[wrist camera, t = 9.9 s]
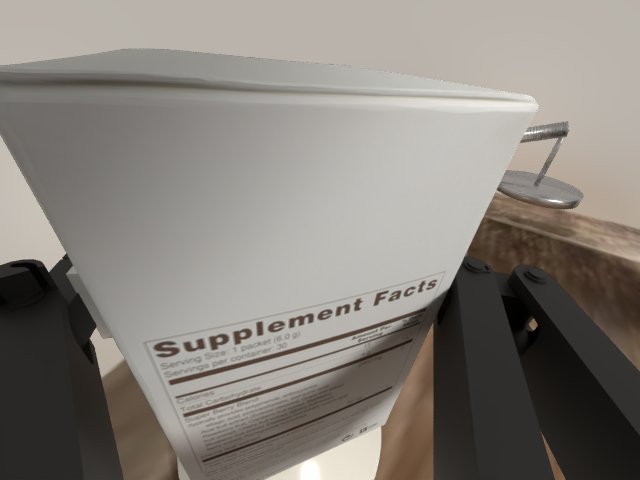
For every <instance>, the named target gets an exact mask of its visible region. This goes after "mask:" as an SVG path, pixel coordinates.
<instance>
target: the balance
mask: <svg viewBox="0 0 640 480" xmlns="http://www.w3.org/2000/svg"><path fill="white" fill-rule="evenodd" d="M568 131H569V130H568V122H561V123H554V124H549V125H542V126H535V127H530V128H527V130H526V132H525V134H524V135H523V137H522V139H521V141H520V143H523V142H531V141H538V140H546V139H552V138H558V140H557V142H556V144H555V146H554V147H553V149H552V151H551V153H550V155H549V157H548V159H547V160H546V162H545V165H544V166H543V168H542V170H541V172H540V174H534V173H529V172H522V171H509V170H506V171H505V173H504V175H503V177H502V180H501V182H500V184H499V186H498V188H497V190H498V191H500V192H501V193H503V194H505V195H507V196H509V197H511V198H514V199H517V200H519V201H522V202H525V203H529V204H533V205H537V206H541V207H546V208H553V209H573V208H575V207H577V206H578V205H579V203H580V202H581V200H582V199H583V197H584V195H583V193H582V192H581V191H580V190H578V189H577V188H575V187H573V186H571V185H569V184H567V183H565V182H562V181H559V180H556V179H553V178H550V177H546V176H544V175H545V173H546V171H547V170H548V168H549V166H550V164H551V162H552V160H553V159H554V157H555V155H556V153H557V151H558V149H559V147H560V146H561V144H562V142H563V140H564V138H565V137H566V136H567V133H568ZM467 253H468V251H467V252H466V254H465V256H466V257H467Z"/></svg>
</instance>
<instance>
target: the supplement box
mask: <svg viewBox="0 0 640 480" xmlns="http://www.w3.org/2000/svg"><path fill="white" fill-rule="evenodd" d="M538 108H539V106H538V104H537V103H536V101H535V100H534V98H533V97H531V96H529V95H524V94H519V93H513V92H507V91H501V90H495V89H489V88H483V87H477V86H471V85H465V84H459V83H452V82H447V81H441V80H435V79H428V78H422V77H416V76H410V75H404V74H398V73H392V72H385V71H379V70H372V69H365V68H359V67H353V66H347V65H334V64H319V63H308V62H296V61H285V60H274V59H264V58H254V57H242V56H232V55H222V54H210V53H201V52H191V51H180V50H169V49H121V50H115V51H109V52H103V53H98V54H90V55H83V56H77V57H69V58H61V59H53V60H46V61H38V62H30V63H22V64H12V65H1V66H0V135H1V137H2V138H3V140H4V142H5V144H6V146H7V148H8V149H9V151H10V153H11V155H12V156H13V158H14V160H15V162H16V163H17V165H18V167H19V169H20V171H21V172H22V174H23V176H24V178H25V179H26V181H27V183H28V185H29V187H30V189H31V190H32V192H33V194H34V196H35V197H36V199H37V201H38V203H39V205H40V206H41V208H42V210H43V212H44V213H45V215H46V217H47V219H48V220H49V222H50V224H51V226H52V228H53V229H54V231H55V233H56V235H57V237H58V238H59V240H60V242H61V244H62V246H63V247H64V249H65V251H66V253H67V255H68V257H69V258H70V260H71V262H72V264H73V266H74V267H75V269H76V271H77V273H78V275H79V277H80V278H81V280H82V282H83V284H84V286H85V287H86V289H87V291H88V293H89V295H90V296H91V298H92V300H93V302H94V304H95V305H96V307H97V309H98V311H99V313H100V315H101V316H102V318H103V320H104V322H105V324H106V326H107V327H108V329H109V331H110V333H111V335H112V337H113V338H114V340H115V342H116V344H117V346H118V348H119V349H120V351H121V353H122V354H123V356H124V358H125V360H126V362H127V364H128V366H129V368H130V370H131V371H132V373H133V375H134V377H135V379H136V381H137V383H138V384H139V386H140V388H141V390H142V391H143V393H144V395H145V397H146V399H147V401H148V403H149V405H150V407H151V409H152V411H153V413H154V415H155V416H156V418H157V420H158V422H159V424H160V426H161V428H162V429H163V431H164V433H165V435H166V437H167V439H168V440H169V442H170V444H171V446H172V448H173V450H174V452H175V453H176V455H177V457H178V459H179V461H180V462H181V464H182V466H183V468H184V470H185V471H186V473H187V475H188V477H189V479H190V480H265V479H267V478H269V477H271V476H273V475H276V474H278V473H280V472H282V471H284V470H287V469H289V468H291V467H293V466H295V465H297V464H300V463H302V462H304V461H306V460H308V459H311V458H313V457H315V456H317V455H319V454H322V453H324V452H326V451H328V450H330V449H333V448H335V447H337V446H339V445H341V444H344V443H346V442H348V441H350V440H352V439H355V438H357V437H359V436H361V435H363V434H365V433H368V432H370V431H372V430H374V429H376V428H378V427H381V426H383V425H385V423H386V421H387V419H388V417H389V414H390V412H391V410H392V407H393V405H394V403H395V401H396V399H397V397H398V395H399V393H400V391H401V389H402V387H403V385H404V382H405V380H406V378H407V376H408V374H409V372H410V370H411V368H412V366H413V363H414V361H415V359H416V357H417V355H418V353H419V351H420V348H421V346H422V344H423V342H424V340H425V338H426V336H427V334H428V332H429V330H430V327H431V325H432V323H433V321H434V319H435V317H436V315H437V313H438V311H439V309H440V307H441V305H442V303H443V300H444V298H445V296H446V294H447V292H448V290H449V288H450V286H451V284H452V281H453V279H454V277H455V275H456V273H457V271H458V269H459V267H460V265H461V263H462V261H463V259H464V256H465V254H466V252H467V250H468V248H469V246H470V244H471V242H472V240H473V237H474V235H475V233H476V231H477V229H478V227H479V225H480V223H481V220H482V218H483V216H484V214H485V212H486V210H487V208H488V206H489V204H490V202H491V200H492V198H493V196H494V194H495V192H496V190H497V188H498V186H499V184H500V182H501V180H502V177H503V175H504V173H505V171H506V169H507V167H508V165H509V163H510V161H511V159H512V157H513V155H514V153H515V151H516V149H517V146H518V144H519V143H520V141H521V139H522V137H523V135H524V134H525V132H526V130H527V128H528V126H529V124H530V123H531V121H532V119H533V117H534V115H535V113H536V111H537V109H538Z"/></svg>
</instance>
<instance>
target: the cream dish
mask: <svg viewBox="0 0 640 480" xmlns="http://www.w3.org/2000/svg"><path fill="white" fill-rule="evenodd" d="M380 450H381V427H378V428H376V429H374V430H372V431H370V432H368V433H365V434H363V435H361V436H359V437H357V438H355V439H352V440H350V441H348V442H346V443H344V444H341V445H339V446H337V447H335V448H333V449H330V450H328V451H326V452H324V453H322V454H319V455H317V456H315V457H313V458H311V459H308V460H306V461H304V462H302V463H300V464H297V465H295V466H293V467H291V468H289V469H287V470H284V471H282V472H280V473H278V474H276V475H273V476H271V477H269V478H267V479H265V480H374V478H375V475H376V471H377V467H378V463H379V458H380ZM177 462H178V475H179V479H180V480H190V479H189V477H188V475H187V473H186V471H185V470H184V468H183V466H182V464H181V462H180V461H179V459H178V457H177Z"/></svg>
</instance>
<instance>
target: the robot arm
mask: <svg viewBox="0 0 640 480" xmlns="http://www.w3.org/2000/svg"><path fill="white" fill-rule="evenodd" d="M533 318H534V319H535V321H536V322H537V324H538V326H537V328H536V329H535V330H534V331H533V330H532V329H531V328H530V326H529V323H530V322H531V321H532V319H533ZM95 328H97V329H98V331H99V333H100V335H101V336H102V338H113V337H112V335H111V333H110V331H109V329H108V327H107V326H106V324H105V322H104V320H103V318H102V316H101V315H100V313H99V311H98V309H97V307H96V305H95V304H94V302H93V300H92V298H91V296H90V295H89V293H88V291H87V289H86V287H85V286H84V284H83V282H82V280H81V278H80V277H79V275H78V273H77V271H76V269H75V267H74V266H73V264H72V262H71V260H70V258H69V257H68V255H67V253H66V255H65V256H64V257H63V260H60V261H59V262H58V263H57V264H56V265H55V266H54V267H53V269H52V270H51V271H50V272H48V271H47V269H46V267H45V266H44V264H43V263H42V262H41V261H38V260H34V259H32V260H19V261H13V262H9V263H6V264H3V265H0V480H124V479H123V475H122V470H121V466H120V461H119V457H118V452H117V448H116V443H115V438H114V434H113V429H112V425H111V420H110V416H109V411H108V407H107V402H106V398H105V393H104V389H103V384H102V380H101V375H100V371H99V366H98V362H97V357H96V353H95V348H94V345H93V344H92V342H91V340H90V339H89V338H90V337H91V335H92V333H93V331H94V330H95ZM433 350H434V480H555V478H554V475H553V471H552V468H551V465H550V461H549V458H548V454H547V451H546V448H545V444H544V441H543V437H542V434H543V436H544V438H545V439H546V441H547V443H548V445H549V447H550V449H551V451H552V453H553V455H554V457H555V459H556V461H557V463H558V465H559V467H560V469H561V471H562V473H563V475H564V477H565V479H566V480H640V372H639V370H638V369H637V368H636V367H635V366H634V365H633V364H632V363H631V362H630V361H629V360H628V358H627V357H626V356H625V355H624V354H623V353H622V352H621V351H620V350H619V349H618V348H617V346H616V345H615V344H614V343H613V342H612V341H611V340H610V339H609V338H608V337H607V336H606V335H605V333H604V332H603V331H602V330H601V329H600V328H599V327H598V326H597V325H596V324H595V323H594V321H593V320H592V319H591V318H590V317H589V316H588V315H587V314H586V313H585V312H584V311H583V310H582V308H581V307H580V306H579V305H578V304H577V303H576V302H575V301H574V300H573V299H572V298H571V296H570V295H569V294H568V293H567V292H566V291H565V290H564V289H563V288H562V287H561V286H560V284H559V283H558V282H557V281H556V280H555V279H554V278H553V277H552V276H550V275H549V274H548V273H546V272H544V271H543V270H542V269H539V268H537V267H534V266H528V265H518V266H516V267H515V268H514V270H513V272H512V273H511V275H509V274H503V273H496V272H493V270H492V268H491V267H490V266H489V265H487V264H486V263H485V262H483V261H481V260H479V259H476V258H473V257H466V256H464V259H463V261H462V263H461V265H460V267H459V269H458V271H457V273H456V275H455V277H454V279H453V281H452V284H451V286H450V288H449V290H448V292H447V294H446V296H445V298H444V300H443V303H442V305H441V307H440V309H439V311H438V313H437V315H436V317H435V319H434V321H433ZM540 430H541V431H540ZM541 432H542V434H541Z"/></svg>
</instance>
